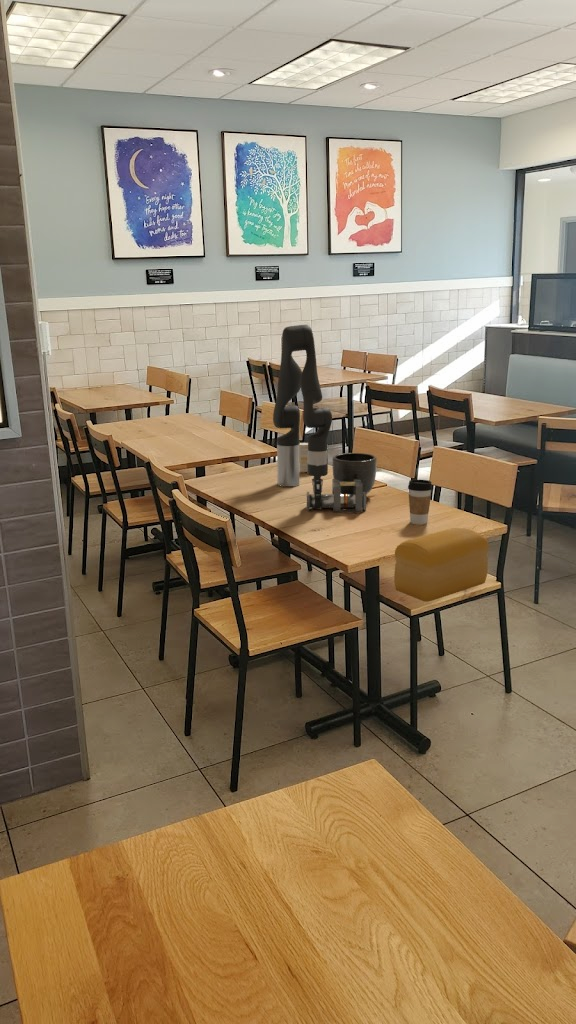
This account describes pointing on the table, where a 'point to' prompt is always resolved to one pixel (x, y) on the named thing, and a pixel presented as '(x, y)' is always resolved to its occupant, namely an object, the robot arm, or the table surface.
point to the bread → (441, 563)
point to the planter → (355, 470)
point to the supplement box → (303, 456)
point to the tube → (328, 501)
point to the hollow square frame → (356, 490)
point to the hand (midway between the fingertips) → (317, 506)
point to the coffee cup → (419, 500)
